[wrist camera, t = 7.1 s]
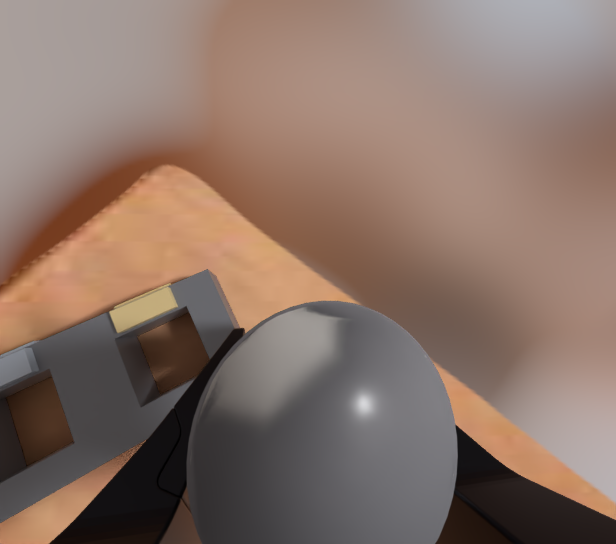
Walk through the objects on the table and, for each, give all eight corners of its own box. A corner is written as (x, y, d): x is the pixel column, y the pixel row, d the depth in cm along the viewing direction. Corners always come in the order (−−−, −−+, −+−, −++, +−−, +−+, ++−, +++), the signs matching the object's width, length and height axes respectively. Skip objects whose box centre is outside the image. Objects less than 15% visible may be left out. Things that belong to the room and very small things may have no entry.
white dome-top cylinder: (282, 396, 15) (325, 721, 3) (242, 347, 15) (120, 439, 3) (326, 351, 16) (502, 436, 4) (289, 307, 16) (338, 253, 4)
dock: (-8, 519, 16) (-81, 571, 13) (-45, 386, 18) (-120, 401, 14) (258, 368, 21) (256, 377, 18) (214, 273, 22) (204, 264, 19)
